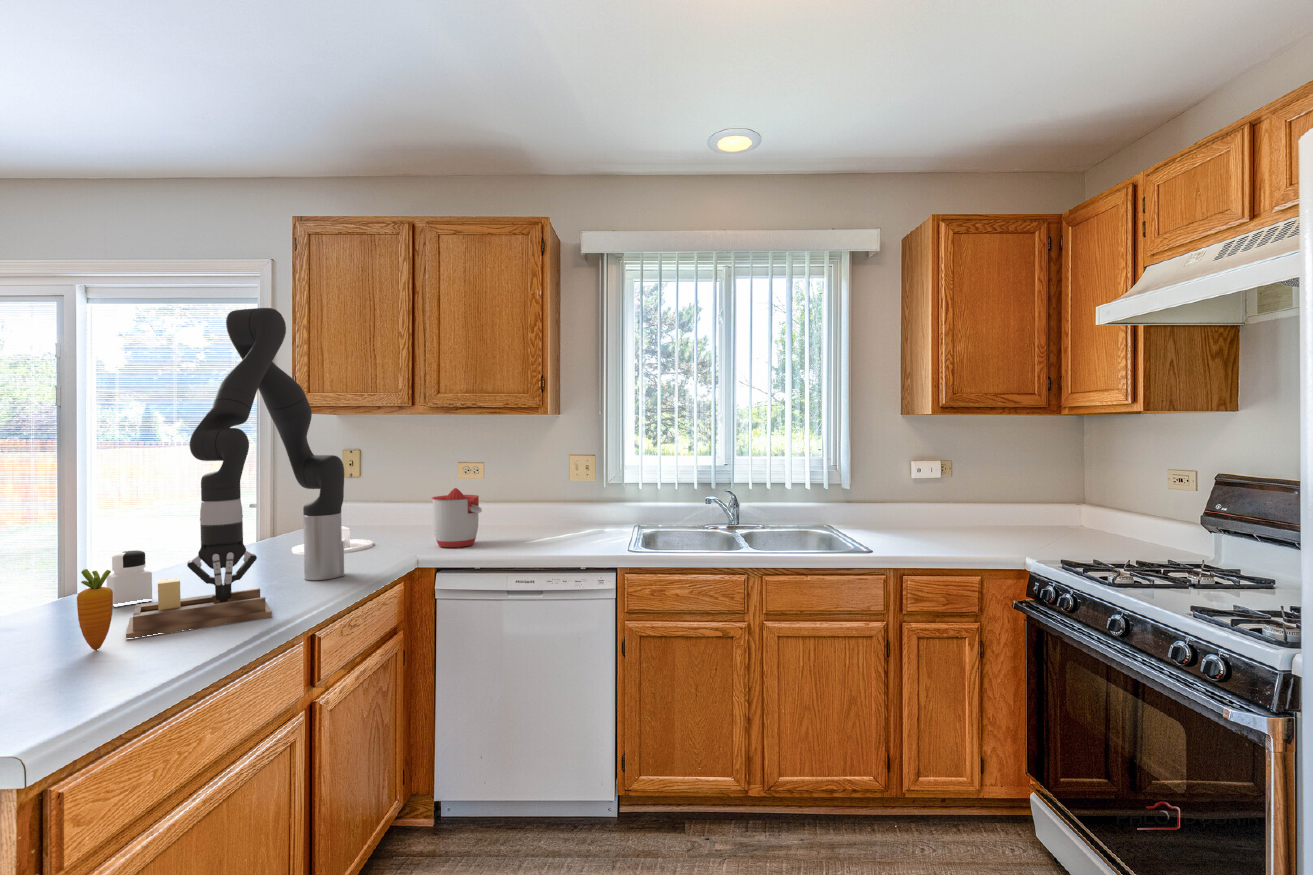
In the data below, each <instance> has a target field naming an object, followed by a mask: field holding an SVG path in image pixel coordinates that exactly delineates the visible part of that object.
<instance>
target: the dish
mask: <svg viewBox="0 0 1313 875" xmlns="http://www.w3.org/2000/svg"><path fill="white" fill-rule="evenodd" d="M342 541H343V542H344V554H347V553H353V552H354V553H355V552H359V551H364V550H367V549H370V548H372V547H373V546H374V542H373V541H372V540H369V539H361V538H360V539H358V538H356V539H354V538H352V539H351V528H349V527H347V526H344V525H342ZM291 552H292V554H294V555H297V556H302V555H303V556H304V543H303V544H299V545H295V546H293V547H291Z"/></svg>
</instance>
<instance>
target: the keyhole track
mask: <svg viewBox="0 0 1313 875" xmlns="http://www.w3.org/2000/svg"><path fill="white" fill-rule="evenodd" d="M231 593H232V596H231V598H229V599H228V602H221V603H220V601H219V600H216V597H215V594H207V595H206V594H205V595H200V596H192V597H191V596H190V597H183V598H180V601H181V607H177V608H170V609H163V610H158V601H154V602H153V601H152V602H147V603H141V604H136V605H134V610H133V615H132V617H129V621H128V624H127V628H126V632H125V639H126V638H135V637H142V636H147V635H153V634H158V633H169V634H172V633H171V632H176V631H182V630H188V631H190V630H189V629H195V630H200V629H199V628H201V629H206V627H207V628H213V627H212V626H214V627H219V625H220V626H226V625H233V624H237V623H245V622H250V621H251V622H252V621H257V620H263V619H269V618H273V612H272V610H271V608H270V606H269V604H268V602H267V600H266V597H265V596H262V597H261V588H259V587H258V588H252V589H251V588H250V589H245V590H244V589H243V590H236V591H231ZM182 632H183V631H182ZM176 633H177V632H176Z"/></svg>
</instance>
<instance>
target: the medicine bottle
mask: <svg viewBox="0 0 1313 875" xmlns="http://www.w3.org/2000/svg"><path fill="white" fill-rule="evenodd" d="M111 566H112V567H111V570H112V571H111V573H110V574H109V575H108V576H107V578H106V580H105V581H106V582H105V583H106V587H107V588H110V589H112V591H113V604H118V603H125V602H130V601H137V600H143V599H152V600H153V572H152V571H150V570H148V569H146V553H145V551H143V550H137V549H136V550H127V551H126V550H125V551H119V552H117V553H115V554H113V555H112V556H111Z"/></svg>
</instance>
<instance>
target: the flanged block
mask: <svg viewBox="0 0 1313 875" xmlns="http://www.w3.org/2000/svg"><path fill="white" fill-rule="evenodd" d="M180 599H181V578H180V577H178V578H169V579H161V580H157V602H158V610H163V609H170V608H177V607H181V601H180Z"/></svg>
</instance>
